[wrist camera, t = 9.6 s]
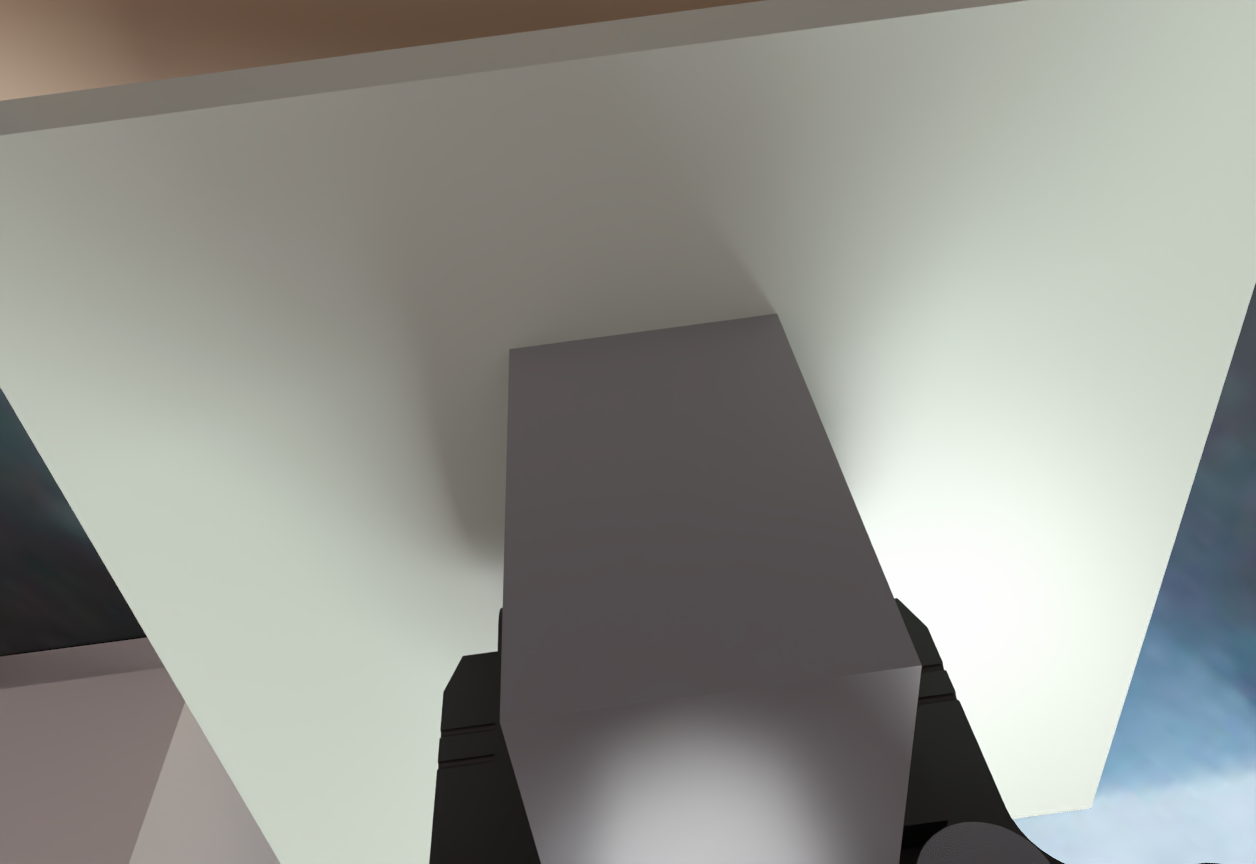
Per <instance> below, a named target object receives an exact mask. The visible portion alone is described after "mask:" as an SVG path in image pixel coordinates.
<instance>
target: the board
mask: <svg viewBox="0 0 1256 864" xmlns="http://www.w3.org/2000/svg"><path fill="white" fill-rule="evenodd" d="M757 1H764V0H0V101H3V100H10V99H18V98H26V97H33V96H41V95H49V94H56V93H64V92H71V91H79V90H87V89H94V88H102V87H109V86H117V85H125V84H132V83H140V82H148V81H155V80H163V79H170V78H178V77H186V76H193V75H201V74H208V73H216V72H224V71H231V70H239V69H246V68H254V67H262V66H269V65H277V64H285V63H292V62H300V61H307V60H315V59H323V58H330V57H338V56H345V55H353V54H361V53H368V52H376V51H384V50H391V49H399V48H406V47H414V46H422V45H429V44H437V43H444V42H452V41H460V40H467V39H475V38H482V37H490V36H498V35H505V34H513V33H521V32H528V31H536V30H543V29H551V28H559V27H566V26H574V25H581V24H589V23H597V22H604V21H612V20H620V19H627V18H635V17H642V16H650V15H658V14H665V13H673V12H680V11H688V10H696V9H703V8H711V7H718V6H726V5H734V4H741V3H749V2H757Z"/></svg>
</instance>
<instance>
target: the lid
mask: <svg viewBox="0 0 1256 864" xmlns="http://www.w3.org/2000/svg"><path fill="white" fill-rule="evenodd" d="M1255 283H1256V0H764V1H757V2H749V3H741V4H734V5H726V6H718V7H711V8H703V9H696V10H688V11H680V12H673V13H665V14H658V15H650V16H642V17H635V18H627V19H620V20H612V21H604V22H597V23H589V24H581V25H574V26H566V27H559V28H551V29H543V30H536V31H528V32H521V33H513V34H505V35H498V36H490V37H482V38H475V39H467V40H460V41H452V42H444V43H437V44H429V45H422V46H414V47H406V48H399V49H391V50H384V51H376V52H368V53H361V54H353V55H345V56H338V57H330V58H323V59H315V60H307V61H300V62H292V63H285V64H277V65H269V66H262V67H254V68H246V69H239V70H231V71H224V72H216V73H208V74H201V75H193V76H186V77H178V78H170V79H163V80H155V81H148V82H140V83H132V84H125V85H117V86H109V87H102V88H94V89H87V90H79V91H71V92H64V93H56V94H49V95H41V96H33V97H26V98H18V99H10V100H3V101H0V387H1V389H2V391H3V392H4V394H5V396H6V398H7V399H8V401H9V403H10V404H11V406H12V408H13V409H14V411H15V413H16V415H17V416H18V418H19V420H20V421H21V423H22V425H23V426H24V428H25V430H26V432H27V433H28V435H29V437H30V438H31V440H32V442H33V443H34V445H35V447H36V449H37V450H38V452H39V454H40V455H41V457H42V459H43V460H44V462H45V464H46V466H47V467H48V469H49V471H50V472H51V474H52V476H53V477H54V479H55V481H56V483H57V484H58V486H59V488H60V489H61V491H62V493H63V494H64V496H65V498H66V500H67V501H68V503H69V505H70V506H71V508H72V510H73V511H74V513H75V515H76V517H77V518H78V520H79V522H80V523H81V525H82V527H83V528H84V530H85V532H86V534H87V535H88V537H89V539H90V540H91V542H92V544H93V545H94V547H95V549H96V551H97V552H98V554H99V556H100V557H101V559H102V561H103V563H104V564H105V566H106V568H107V569H108V571H109V573H110V574H111V576H112V578H113V580H114V581H115V583H116V585H117V586H118V588H119V590H120V591H121V593H122V595H123V597H124V598H125V600H126V602H127V603H128V605H129V607H130V608H131V610H132V612H133V614H134V615H135V617H136V619H137V620H138V622H139V624H140V625H141V627H142V629H143V631H144V632H145V634H146V636H147V637H148V639H149V641H150V642H151V644H152V646H153V648H154V649H155V651H156V653H157V654H158V656H159V658H160V659H161V661H162V663H163V665H164V666H165V668H166V670H167V671H168V673H169V675H170V676H171V678H172V680H173V682H174V683H175V685H176V687H177V688H178V690H179V692H180V693H181V695H182V697H183V699H184V700H185V702H186V704H187V705H188V707H189V709H190V710H191V712H192V714H193V716H194V717H195V719H196V721H197V722H198V724H199V726H200V727H201V729H202V731H203V733H204V734H205V736H206V738H207V739H208V741H209V743H210V744H211V746H212V748H213V750H214V751H215V753H216V755H217V756H218V758H219V760H220V761H221V763H222V765H223V767H224V768H225V770H226V772H227V773H228V775H229V777H230V778H231V780H232V782H233V784H234V785H235V787H236V789H237V790H238V792H239V794H240V795H241V797H242V799H243V801H244V802H245V804H246V806H247V807H248V809H249V811H250V812H251V814H252V816H253V818H254V819H255V821H256V823H257V824H258V826H259V828H260V829H261V831H262V833H263V835H264V836H265V838H266V840H267V841H268V843H269V845H270V846H271V848H272V850H273V852H274V853H275V855H276V857H277V858H278V860H279V862H280V863H281V864H429V860H430V848H431V836H432V824H433V812H434V800H435V787H436V775H437V770H438V751H439V739H440V738H441V731H440V727H441V715H442V703H443V692H444V690H445V688H446V686H447V684H448V682H449V681H450V679H451V677H452V675H453V673H454V671H455V669H456V668H457V666H458V664H459V662H460V660H461V658H462V656H465V655H473V654H480V653H488V652H495V651H498V621H499V611H500V609H501V608H503V615H502V654H501V693H500V725H501V728H502V732H503V735H504V739H505V742H506V745H507V749H508V752H509V756H510V759H511V762H512V766H513V769H514V773H515V776H516V780H517V783H518V786H519V790H520V793H521V797H522V800H523V804H524V807H525V810H526V814H527V817H528V821H529V824H530V828H531V831H532V834H533V838H534V841H535V845H536V848H537V851H538V855H539V858H540V862H541V864H899V860H900V851H901V842H902V834H903V825H904V816H905V807H906V799H907V790H908V781H909V773H910V764H911V755H912V746H913V738H914V729H915V720H916V712H917V703H918V694H919V685H920V677H921V668H922V665H921V662H920V660H919V657H918V655H917V652H916V650H915V648H914V645H913V643H912V640H911V638H910V635H909V633H908V631H907V628H906V626H905V623H904V621H903V618H902V616H901V614H900V611H899V609H898V606H897V604H896V601H895V599H894V598H898V599H899V600H900V601H901V602H902V603H903V604H904V605H905V606H906V607H907V608H908V609H909V610H910V611H911V612H912V613H913V614H914V615H915V616H916V617H918V618H919V619H920V620H921V621H922V622H923V623H924V624H925V625H926V626H927V627H928V629H929V632H930V634H931V636H932V639H933V641H934V643H935V645H936V648H937V650H938V652H939V655H940V657H941V659H942V662H943V667H944V670H946V671H947V673H948V675H949V678H950V680H951V682H952V685H953V687H954V689H955V691H956V697H957V700H959V701H960V703H961V705H962V708H963V710H964V712H965V714H966V717H967V719H968V721H969V724H970V726H971V728H972V731H973V733H974V735H975V738H976V740H977V742H978V744H979V747H980V749H981V751H982V754H983V756H984V758H985V761H986V763H987V765H988V767H989V770H990V772H991V774H992V777H993V779H994V781H995V784H996V786H997V788H998V790H999V793H1000V795H1001V797H1002V800H1003V802H1004V804H1005V807H1006V809H1007V810H1008V812H1009V814H1010V816H1011V818H1012V819H1016V818H1023V817H1031V816H1038V815H1045V814H1053V813H1060V812H1067V811H1075V810H1082V809H1090V808H1091V807H1092V803H1093V800H1094V797H1095V794H1096V791H1097V787H1098V784H1099V781H1100V778H1101V775H1102V771H1103V768H1104V765H1105V762H1106V759H1107V755H1108V752H1109V749H1110V746H1111V743H1112V739H1113V736H1114V733H1115V730H1116V727H1117V723H1118V720H1119V717H1120V714H1121V711H1122V707H1123V704H1124V701H1125V698H1126V695H1127V692H1128V688H1129V685H1130V682H1131V679H1132V676H1133V672H1134V669H1135V666H1136V663H1137V660H1138V656H1139V653H1140V650H1141V647H1142V644H1143V640H1144V637H1145V634H1146V631H1147V628H1148V624H1149V621H1150V618H1151V615H1152V612H1153V608H1154V605H1155V602H1156V599H1157V596H1158V592H1159V589H1160V586H1161V583H1162V580H1163V577H1164V573H1165V570H1166V567H1167V564H1168V561H1169V557H1170V554H1171V551H1172V548H1173V545H1174V541H1175V538H1176V535H1177V532H1178V529H1179V525H1180V522H1181V519H1182V516H1183V513H1184V509H1185V506H1186V503H1187V500H1188V497H1189V493H1190V490H1191V487H1192V484H1193V481H1194V478H1195V474H1196V471H1197V468H1198V465H1199V462H1200V458H1201V455H1202V452H1203V449H1204V446H1205V442H1206V439H1207V436H1208V433H1209V430H1210V426H1211V423H1212V420H1213V417H1214V414H1215V410H1216V407H1217V404H1218V401H1219V398H1220V394H1221V391H1222V388H1223V385H1224V382H1225V378H1226V375H1227V372H1228V369H1229V366H1230V363H1231V359H1232V356H1233V353H1234V350H1235V347H1236V343H1237V340H1238V337H1239V334H1240V331H1241V327H1242V324H1243V321H1244V318H1245V315H1246V311H1247V308H1248V305H1249V302H1250V299H1251V295H1252V292H1253V289H1254V286H1255Z"/></svg>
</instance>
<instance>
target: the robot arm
mask: <svg viewBox="0 0 1256 864" xmlns="http://www.w3.org/2000/svg"><path fill="white" fill-rule="evenodd" d="M894 599H895V601H896V604H897V606H898V609H899V611H900V614H901V616H902V618H903V621H904V623H905V626H906V628H907V631H908V633H909V635H910V638H911V640H912V643H913V645H914V648H915V650H916V652H917V655H918V657H919V660H920V662H921V665H922V668H921V677H920V685H919V694H918V703H917V712H916V720H915V729H914V738H913V746H912V755H911V764H910V773H909V781H908V790H907V799H906V807H905V816H904V825H903V834H902V842H901V851H900V860H899V864H1064V863H1062V862H1060V861H1058V860H1056V859H1054V858H1053V857H1051V856H1050V855H1048V854H1047V853H1045V852H1044V851H1042V850H1041V849H1039V848H1038V847H1037V846H1036V845H1035V844H1033V843H1032V842H1031V841H1030V840H1029V839H1028V838H1027V837H1026V836H1025V835H1024V834H1023V833H1022V832H1021V830H1020V829H1019V828H1018V827H1017V825H1016V824H1015V822H1014V821H1013V820H1012V818H1011V816H1010V814H1009V812H1008V810H1007V809H1006V807H1005V804H1004V802H1003V800H1002V797H1001V795H1000V793H999V790H998V788H997V786H996V784H995V781H994V779H993V777H992V774H991V772H990V770H989V767H988V765H987V763H986V761H985V758H984V756H983V754H982V751H981V749H980V747H979V744H978V742H977V740H976V738H975V735H974V733H973V731H972V728H971V726H970V724H969V721H968V719H967V717H966V714H965V712H964V710H963V708H962V705H961V703H960V701H959V700H957V697H956V691H955V689H954V687H953V685H952V682H951V680H950V678H949V675H948V673H947V671H946V670H944V667H943V662H942V659H941V657H940V655H939V652H938V650H937V648H936V645H935V643H934V641H933V639H932V636H931V634H930V632H929V629H928V627H927V626H926V625H925V624H924V623H923V622H922V621H921V620H920V619H919V618H918V617H916V616H915V615H914V614H913V613H912V612H911V611H910V610H909V609H908V608H907V607H906V606H905V605H904V604H903V603H902V602H901V601H900V600H899V599H898V598H894ZM502 615H503V608H501V609H500V611H499V621H498V651H495V652H488V653H480V654H473V655H465V656H462V658H461V660H460V662H459V664H458V666H457V668H456V669H455V671H454V673H453V675H452V677H451V679H450V681H449V682H448V684H447V686H446V688H445V690H444V692H443V703H442V715H441V727H440V731H441V738H440V739H439V751H438V770H437V775H436V787H435V800H434V812H433V824H432V836H431V848H430V860H429V864H541V862H540V858H539V855H538V851H537V848H536V845H535V841H534V838H533V834H532V831H531V828H530V824H529V821H528V817H527V814H526V810H525V807H524V804H523V800H522V797H521V793H520V790H519V786H518V783H517V780H516V776H515V773H514V769H513V766H512V762H511V759H510V756H509V752H508V749H507V745H506V742H505V739H504V735H503V732H502V728H501V725H500V693H501V654H502ZM1201 864H1217V863H1201Z"/></svg>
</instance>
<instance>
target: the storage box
mask: <svg viewBox="0 0 1256 864" xmlns="http://www.w3.org/2000/svg"><path fill="white" fill-rule="evenodd" d="M0 864H281V863H280V862H279V860H278V858H277V857H276V855H275V853H274V852H273V850H272V848H271V846H270V845H269V843H268V841H267V840H266V838H265V836H264V835H263V833H262V831H261V829H260V828H259V826H258V824H257V823H256V821H255V819H254V818H253V816H252V814H251V812H250V811H249V809H248V807H247V806H246V804H245V802H244V801H243V799H242V797H241V795H240V794H239V792H238V790H237V789H236V787H235V785H234V784H233V782H232V780H231V778H230V777H229V775H228V773H227V772H226V770H225V768H224V767H223V765H222V763H221V761H220V760H219V758H218V756H217V755H216V753H215V751H214V750H213V748H212V746H211V744H210V743H209V741H208V739H207V738H206V736H205V734H204V733H203V731H202V729H201V727H200V726H199V724H198V722H197V721H196V719H195V717H194V716H193V714H192V712H191V710H190V709H189V707H188V705H187V704H186V702H185V700H184V699H183V697H182V695H181V693H180V692H179V690H178V688H177V687H176V685H175V683H174V682H173V680H172V678H171V676H170V675H169V673H168V671H167V670H166V668H165V666H164V665H163V663H162V661H161V659H160V658H159V656H158V654H157V653H156V651H155V649H154V648H153V646H152V644H151V642H150V641H149V639H148V637H147V638H139V639H131V640H124V641H116V642H108V643H101V644H93V645H85V646H78V647H70V648H62V649H55V650H47V651H39V652H32V653H24V654H16V655H9V656H1V657H0Z"/></svg>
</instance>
